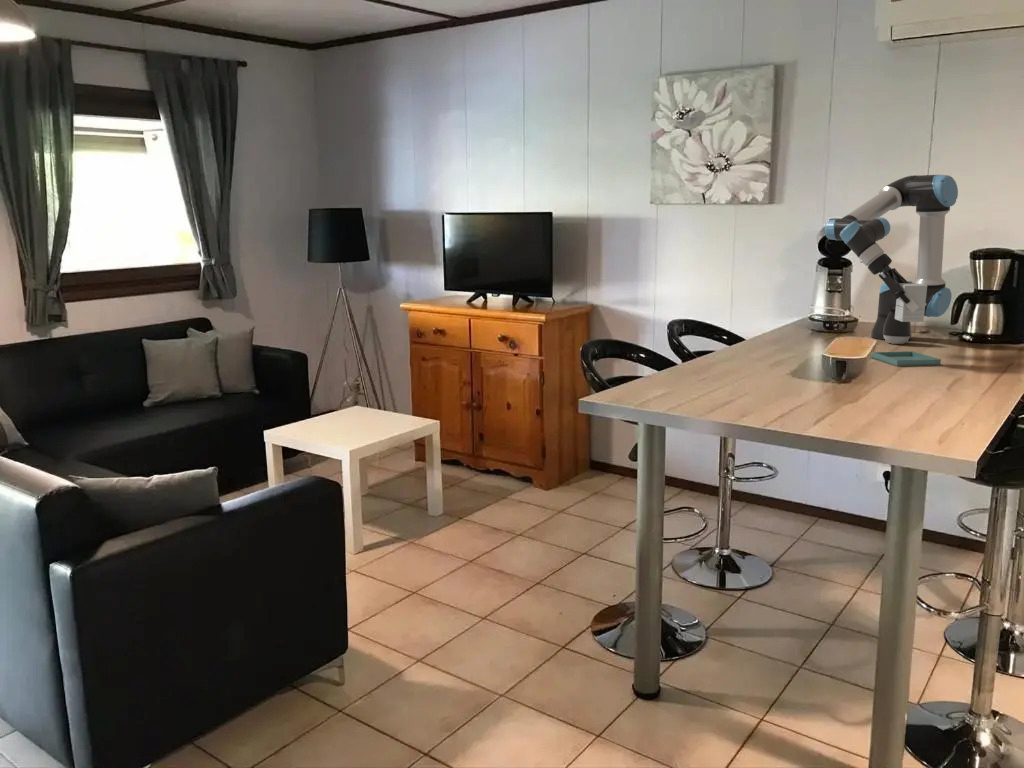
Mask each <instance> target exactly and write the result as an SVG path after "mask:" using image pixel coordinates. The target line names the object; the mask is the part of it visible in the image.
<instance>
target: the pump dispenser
mask: <svg viewBox="0 0 1024 768" xmlns="http://www.w3.org/2000/svg"><path fill="white" fill-rule="evenodd" d="M889 310H890V312H889V314H888V316H887V319H886V321H885V324H884V328H883V336H884V339H885V340H884V341H885V343H888V344H889V343H891V344H890V345H896V344H901V345H904V344H906V343H907V342H908V341H910V340H909V337H910V336H911V333H912V326H911V325H912V324H911V323H912V322H901V321H899V320H896V319H895V310H896V306H894V307H893V308H889ZM911 337H912V336H911Z"/></svg>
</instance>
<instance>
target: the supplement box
mask: <svg viewBox="0 0 1024 768" xmlns="http://www.w3.org/2000/svg"><path fill="white" fill-rule="evenodd" d="M899 285H900V286H901V288H902V289H903V291H904V292H905V293H907V294H908V295H909V296H910V297H911V298H912V299H913V301H914V302H915V303H916V304H917V305H918V306H919V308H918V309H917V310H915V311H914V312H913V313H912V312H911V311H910V310H909V308H908V307H907V306H906V305H905V304H904V303H903V302H902V301H901V299H900V297H899V298H898V299H897V300H896V310H895V319H896V320H899V321H901V322H910V323H913V322H914V323H916V322H917V323H924V321H925V316H924V312H925V302H926V293H927V285H924V284H919V283H913V282H912V283H899ZM905 293H904V294H905Z"/></svg>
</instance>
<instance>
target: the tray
mask: <svg viewBox="0 0 1024 768" xmlns="http://www.w3.org/2000/svg"><path fill="white" fill-rule="evenodd" d="M871 352H872V353H871ZM871 352H870V358H871V359H873V360H875V361H878V360H879V361H878V362H881V361H882V363H884V362H885V363H884V364H887V363H888V365H890V364H891V366H893V365H894V366H893V367H896V366H900V367H928V365H929V367H932V366H933V365H939V366H941V363H942V362H941V361H942V359H941V358H937V357H934V356H931V355H927V354H923V353H921V352H917V351H913V350H912V351H909V350H907V351H903V350H902V351H871ZM933 367H934V366H933Z"/></svg>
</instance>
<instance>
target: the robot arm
mask: <svg viewBox="0 0 1024 768" xmlns="http://www.w3.org/2000/svg"><path fill="white" fill-rule="evenodd" d="M957 184H958V183H957V182H956V180H955V179H954V177H952V176H951V175H948V174H923V175H919V174H917V175H916V174H914V175H909V176H905V177H901V178H900V179H897V180H894V181H892V182H891V183H889V184H887V185H885V186H884V187H883V188H881V189H880V191H879V192H878V194H877V195H875V196H874V197H872V198H871V199H869V200H868V201H866V202H864V203H863V204H861V205H860V206H858V207H857V208H855V209H854V210H852V211H851V212H850V213H848V214H846V215H845V216H843V217H841V218H840V219H837V218H835V219H829V220H828V221H827V222H826V224H825V227H824V233H825V237H826V239H828V240H832V241H833V240H835V241H843V242H844V244H845V245H847V247H848V248H849V249H850V250H851V251H852V252H853V253H854V254H855V255H856V256H857V258H859V263H863V264H864V265H865V266H866V267H867V269H868V271H870V273H871V274H872V275H875V276H876V275H878V277H879V278H880V279H881V280H882V281H883V283H882V284H881V285H880V287H879V293H878V307H877V316H876V317H877V318H876V320H875V323H874V325H873V327H872V328H871V329H872V330H871V332H870V337H871V338H872V337H874V338H873V339H876V338H877V339H876V340H883V339H884V336H883V328H884V324H885V321H886V319H887V316H888V314H889V312H890V310H889V308H893V307H894V306H896V300H897V299H898V298H899V297H900V299H901V301H902V302H903V303H904V304H905V305H906V306H907V307H908V308H909V310H910V311H911V312H912V313H913V312H914V311H915V310H917V309H918V308H919V306H918V305H917V304H916V303H915V302H914V301H913V299H912V298H911V297H910V296H909V295H908V294H907V293H905V292H904V291H903V289H902V288H901V286H900V285H899V283H919V284H924V285H927V293H926V302H925V312H924V317H927V318H930V317H931V318H939V317H942V316H943V315H944V314H945V313H946V312H947V310H948V309H949V308H950V305H951V301H952V292H951V289H950V288H948V287H947V286H946V284H947V283H946V281H945V279H944V278H942V274H943V257H944V256H943V255H944V243H945V242H944V240H945V224H946V223H945V221H946V215H947V214H948V213H950V210H951V207H953V206H954V205H955V204H956V203H957V199H958V195H959V189H958V185H957ZM901 207H915V213H916V214H917V215H918V216H919V229H918V230H919V231H918V232H919V233H918V247H917V248H918V250H917V269H916V270H917V273H916V278H915V279H914V280H913V281H911V280H906V279H905V278H904V276H903V275H901V274H900V272H899V271H897V269H896V268H895V267H894V268H892V267H890V266H889V265H891V263H892V262H893V260H892V259H891V258H890V256H889V255H888V254H887V253H885V251H884V249H882V247H881V246H880V245H879V244H878V241H880V240H882V239H885V237H886V236H888V235H889V234H890V232H891V224H890V222H889V221H888V219H887V218H885V217H882V216H884V215H885V214H887V213H888V212H889V211H895V210H897V209H898V208H901ZM904 293H905V294H904ZM909 339H910V340H912V332H911V336H910V337H909Z"/></svg>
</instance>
